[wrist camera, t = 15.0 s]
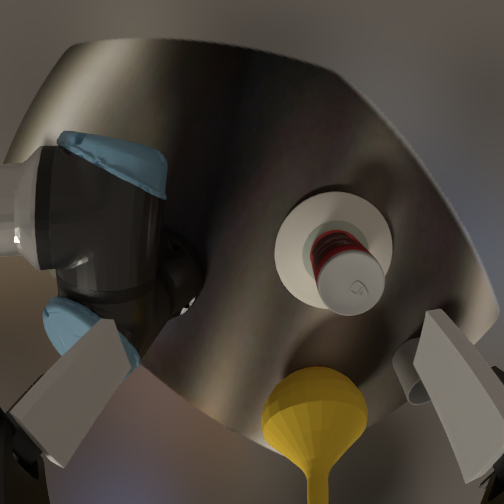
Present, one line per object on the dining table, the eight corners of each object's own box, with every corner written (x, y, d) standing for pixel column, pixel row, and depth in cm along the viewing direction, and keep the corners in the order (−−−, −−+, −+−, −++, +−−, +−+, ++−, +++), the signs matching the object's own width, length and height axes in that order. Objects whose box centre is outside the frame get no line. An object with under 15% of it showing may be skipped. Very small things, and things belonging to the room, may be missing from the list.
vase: (246, 384, 50) (217, 521, 22) (318, 331, 44) (338, 497, 16) (306, 422, 52) (306, 539, 24) (374, 380, 47) (409, 508, 18)
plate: (278, 308, 44) (277, 312, 42) (270, 194, 39) (270, 195, 37) (384, 300, 41) (387, 304, 40) (390, 190, 36) (394, 191, 35)
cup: (412, 331, 43) (433, 364, 33) (436, 345, 43) (456, 376, 34) (384, 363, 45) (398, 399, 36) (409, 375, 46) (424, 408, 36)
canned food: (348, 285, 40) (366, 324, 29) (300, 268, 40) (305, 303, 29) (369, 240, 37) (397, 266, 27) (321, 219, 37) (335, 240, 27)
